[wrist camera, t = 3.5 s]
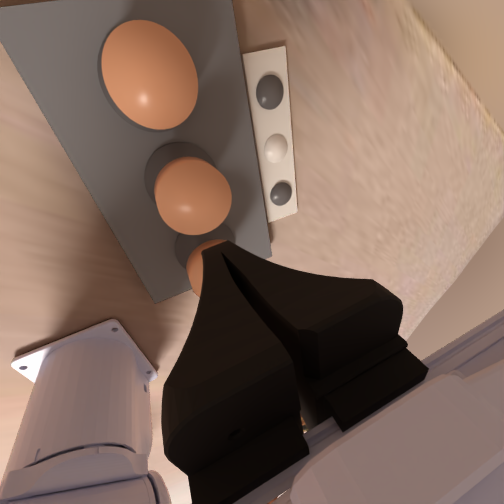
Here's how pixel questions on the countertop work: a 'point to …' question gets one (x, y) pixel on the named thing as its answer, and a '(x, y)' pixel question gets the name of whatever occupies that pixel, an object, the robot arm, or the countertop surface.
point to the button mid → (192, 196)
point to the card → (272, 128)
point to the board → (135, 135)
